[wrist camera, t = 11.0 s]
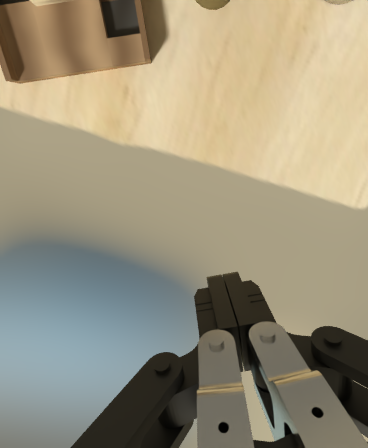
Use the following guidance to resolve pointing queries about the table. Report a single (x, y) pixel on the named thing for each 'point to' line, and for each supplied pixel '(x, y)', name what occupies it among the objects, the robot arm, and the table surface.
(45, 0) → the maple block
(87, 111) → the table surface
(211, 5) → the olive pawn
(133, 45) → the trap lane
